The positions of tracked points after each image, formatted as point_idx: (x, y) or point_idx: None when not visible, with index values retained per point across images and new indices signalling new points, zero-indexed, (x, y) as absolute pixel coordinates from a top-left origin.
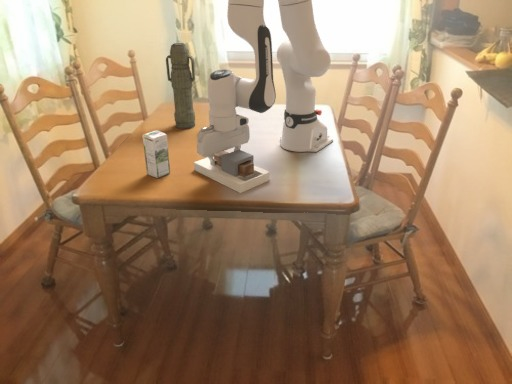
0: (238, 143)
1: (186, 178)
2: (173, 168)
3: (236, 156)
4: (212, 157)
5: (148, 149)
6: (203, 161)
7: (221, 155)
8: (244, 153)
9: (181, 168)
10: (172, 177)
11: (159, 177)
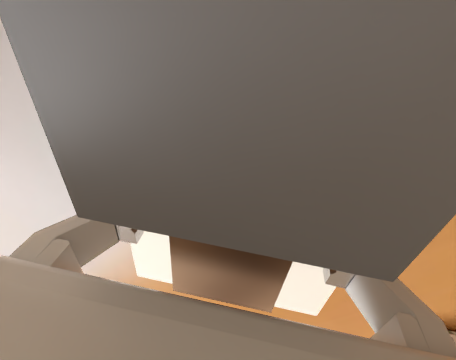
0: (14, 292)
1: (414, 265)
2: (339, 324)
3: (292, 94)
4: (420, 315)
5: None
6: (282, 292)
7: (253, 272)
8: (72, 64)
9: (324, 309)
10: (425, 303)
11: (450, 331)
